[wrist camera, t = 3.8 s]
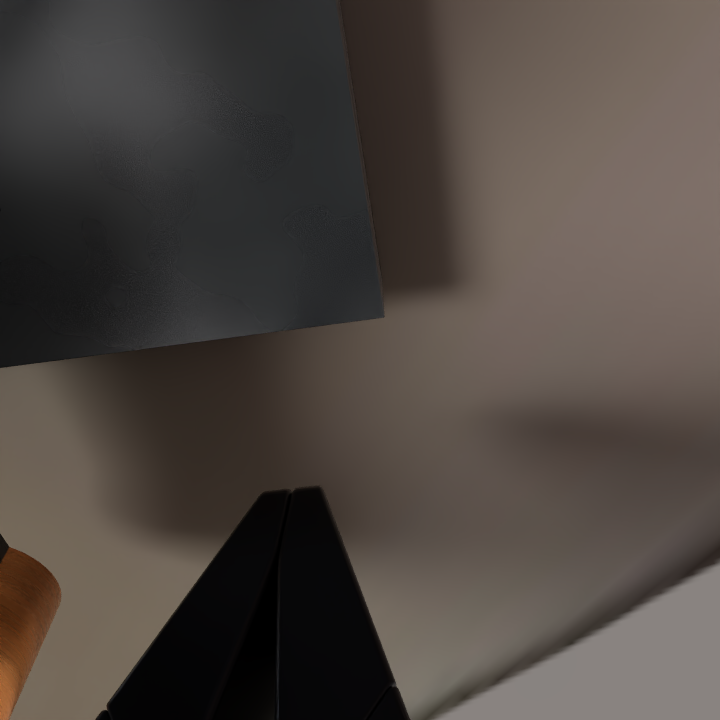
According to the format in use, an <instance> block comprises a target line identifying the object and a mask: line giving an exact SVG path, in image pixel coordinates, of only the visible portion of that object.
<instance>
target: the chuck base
mask: <svg viewBox="0 0 720 720" xmlns="http://www.w3.org/2000/svg"><path fill="white" fill-rule="evenodd" d="M383 317H384V299H383V283H382V276H381V270H380V263H379V256H378V250H377V243H376V236H375V230H374V223H373V217H372V210H371V203H370V197H369V190H368V184H367V177H366V170H365V164H364V157H363V150H362V144H361V137H360V131H359V124H358V117H357V111H356V104H355V98H354V91H353V84H352V78H351V71H350V64H349V58H348V51H347V45H346V38H345V31H344V25H343V18H342V12H341V5H340V0H0V368H3V367H11V366H18V365H26V364H34V363H41V362H49V361H56V360H64V359H72V358H79V357H87V356H94V355H102V354H110V353H117V352H125V351H132V350H140V349H148V348H155V347H163V346H171V345H178V344H186V343H193V342H201V341H209V340H216V339H224V338H231V337H239V336H247V335H254V334H262V333H269V332H277V331H285V330H292V329H300V328H307V327H315V326H323V325H330V324H338V323H345V322H353V321H361V320H368V319H376V318H383Z"/></svg>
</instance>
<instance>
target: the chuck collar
mask: <svg viewBox="0 0 720 720" xmlns="http://www.w3.org/2000/svg"><path fill="white" fill-rule="evenodd" d="M60 602H61V590H60V587H59V584H58V582H57V580H56V579H55V577H54V576H53V575H52V573H51V572H50V571H49V570H48V569H47V568H46V567H44V566H43V565H42V564H41V563H40V562H38V561H37V560H35V559H34V558H32V557H30V556H28V555H27V554H25V553H23V552H20V551H18V550H16V549H13V548H10V547H9V546H8V544H7V543H6V541H5V540H4V538H3V537H2V535H1V534H0V720H9V719H10V716H11V714H12V712H13V709H14V707H15V705H16V703H17V700H18V698H19V696H20V694H21V691H22V689H23V687H24V684H25V682H26V680H27V678H28V675H29V673H30V671H31V669H32V666H33V664H34V662H35V659H36V657H37V655H38V653H39V650H40V648H41V646H42V644H43V641H44V639H45V637H46V634H47V632H48V630H49V628H50V625H51V623H52V621H53V619H54V616H55V614H56V612H57V609H58V607H59V605H60Z"/></svg>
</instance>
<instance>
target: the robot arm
mask: <svg viewBox="0 0 720 720" xmlns="http://www.w3.org/2000/svg"><path fill="white" fill-rule="evenodd" d="M95 720H410V718H409V715H408V713H407V710H406V707H405V705H404V702H403V699H402V697H401V694H400V691H399V689H398V688H397V687H396V682H395V679H394V676H393V674H392V671H391V668H390V666H389V663H388V660H387V658H386V655H385V652H384V650H383V647H382V644H381V642H380V639H379V636H378V634H377V631H376V628H375V626H374V623H373V621H372V618H371V615H370V613H369V610H368V607H367V605H366V602H365V599H364V597H363V594H362V591H361V589H360V586H359V583H358V581H357V578H356V575H355V573H354V570H353V567H352V565H351V562H350V559H349V557H348V554H347V551H346V549H345V546H344V543H343V541H342V538H341V535H340V533H339V530H338V527H337V525H336V522H335V519H334V517H333V514H332V511H331V509H330V506H329V503H328V501H327V498H326V495H325V493H324V490H323V488H322V487H321V486H309V487H300V488H295V489H294V490H293V492H292V491H291V490H289V489H282V490H273V491H265V492H263V493H262V494H261V495H260V496H259V497H258V498H257V500H256V501H255V502H254V504H253V505H252V507H251V508H250V509H249V511H248V512H247V513H246V515H245V516H244V517H243V519H242V520H241V522H240V523H239V524H238V526H237V527H236V528H235V530H234V531H233V533H232V534H231V535H230V537H229V538H228V539H227V541H226V542H225V543H224V545H223V546H222V548H221V549H220V550H219V552H218V553H217V554H216V556H215V557H214V558H213V560H212V561H211V563H210V564H209V565H208V567H207V568H206V569H205V571H204V572H203V574H202V575H201V576H200V578H199V579H198V580H197V582H196V583H195V584H194V586H193V587H192V589H191V590H190V591H189V593H188V594H187V595H186V597H185V598H184V599H183V601H182V602H181V604H180V605H179V606H178V608H177V609H176V610H175V612H174V613H173V615H172V616H171V617H170V619H169V620H168V621H167V623H166V624H165V625H164V627H163V628H162V630H161V631H160V632H159V634H158V635H157V636H156V638H155V639H154V641H153V642H152V643H151V645H150V646H149V647H148V649H147V650H146V651H145V653H144V654H143V656H142V657H141V658H140V660H139V661H138V662H137V664H136V665H135V666H134V668H133V669H132V671H131V672H130V673H129V675H128V676H127V677H126V679H125V680H124V682H123V683H122V684H121V686H120V687H119V688H118V690H117V691H116V692H115V694H114V695H113V697H112V698H111V699H110V701H109V702H108V703H107V710H103V711H101V713H100V714H99V715H98V717H97V718H96V719H95Z"/></svg>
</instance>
